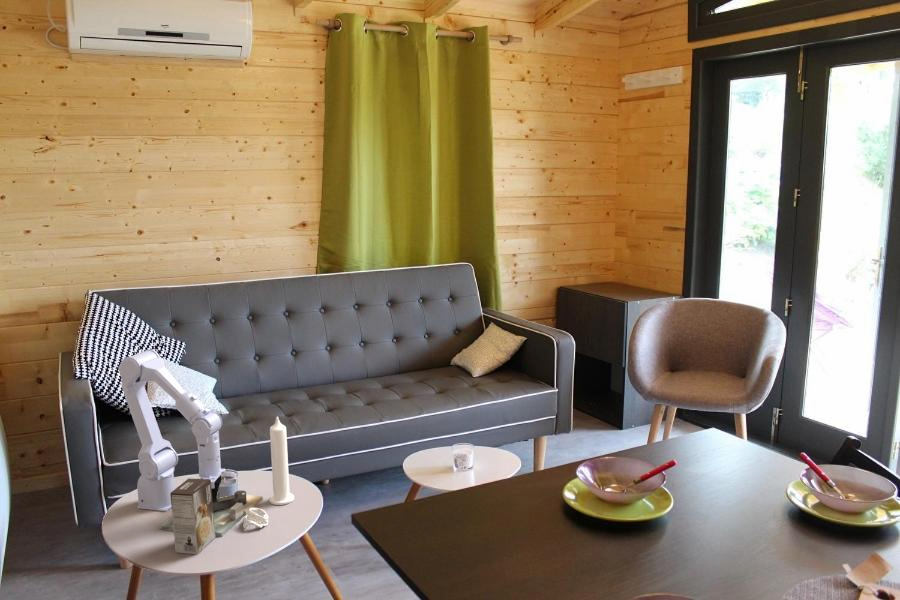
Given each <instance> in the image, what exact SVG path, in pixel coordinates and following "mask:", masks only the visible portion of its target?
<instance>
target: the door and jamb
mask: <svg viewBox="0 0 900 600" xmlns="http://www.w3.org/2000/svg"><path fill="white" fill-rule="evenodd" d="M246 499H247V503H246V504H244V505H243V503H236V504H235V505H234V506H233V507H229V508H225V509H221V510H216V511H213V514H214V526H215V537H223V536H224V535H225V534H226V533H228V531H230V530H231V529H232V528H233V527H234V526H235V525H236V524H237V523H239V522H240V521H241V520H242V519H243V518H245V516H247V512H248V510H249V509H250V508H256V506H257V505H259V503H261V502H262V501H263V496H262V495H261V496H260V495H253V494H246ZM159 527H160V530H162V531H163V530H164V531H172V532H174V528H173V517H172V516H171V517H170V518H169V519H167V520H166V521H164V523H162V524H161V525H160V526H159Z"/></svg>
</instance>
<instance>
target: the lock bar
mask: <svg viewBox="0 0 900 600" xmlns="http://www.w3.org/2000/svg"><path fill="white" fill-rule="evenodd" d="M246 495H247V491H245V490H237V491H235V492H234V495H230V496H225V497H220V498H217V499H212V502H213V511H216V510H221V509H225V508H229V507H233V506H234V505H235V504H236V503H243V505H244V504H246V503H247V499H246Z"/></svg>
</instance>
